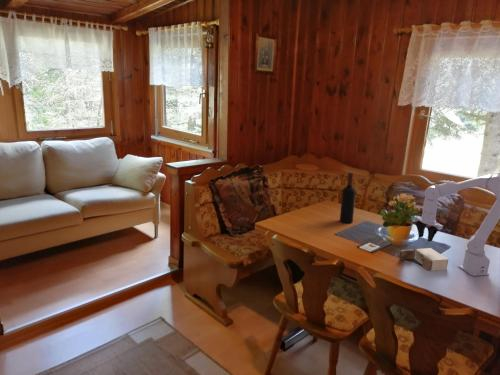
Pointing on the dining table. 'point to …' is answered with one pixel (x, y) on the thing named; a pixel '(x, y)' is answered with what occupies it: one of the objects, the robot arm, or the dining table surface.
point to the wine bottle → (348, 202)
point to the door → (407, 254)
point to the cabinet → (431, 259)
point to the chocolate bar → (374, 245)
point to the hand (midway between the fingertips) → (425, 238)
